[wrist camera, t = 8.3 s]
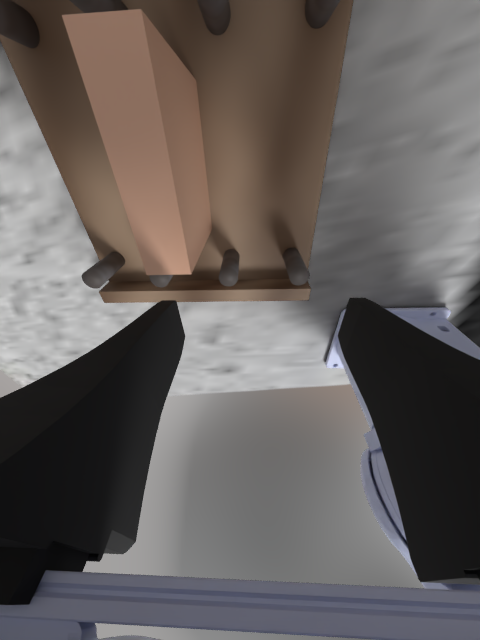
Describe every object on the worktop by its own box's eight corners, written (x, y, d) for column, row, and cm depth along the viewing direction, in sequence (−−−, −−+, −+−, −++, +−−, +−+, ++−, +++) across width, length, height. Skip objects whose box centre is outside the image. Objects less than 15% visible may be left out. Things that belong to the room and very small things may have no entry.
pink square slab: (196, 80, 11) (140, 8, 5) (212, 228, 15) (191, 274, 10) (156, 82, 11) (61, 14, 5) (183, 229, 15) (146, 275, 10)
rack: (363, -112, 8) (451, -312, 5) (301, 283, 19) (314, 315, 15) (-31, -74, 9) (-215, -221, 5) (121, 286, 20) (92, 317, 16)
